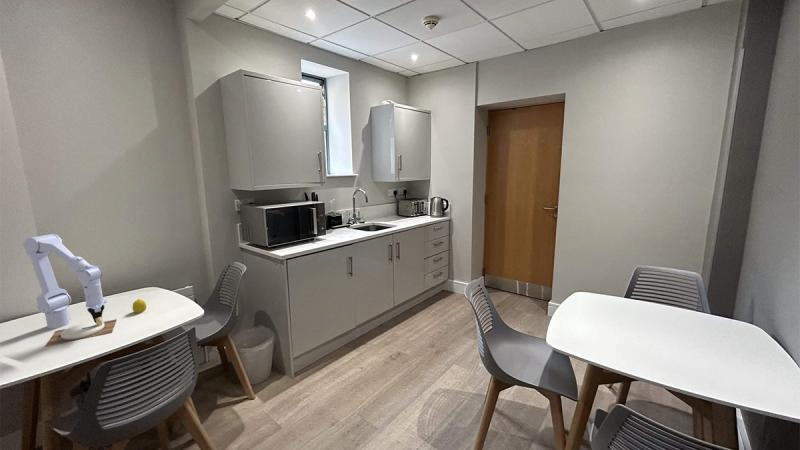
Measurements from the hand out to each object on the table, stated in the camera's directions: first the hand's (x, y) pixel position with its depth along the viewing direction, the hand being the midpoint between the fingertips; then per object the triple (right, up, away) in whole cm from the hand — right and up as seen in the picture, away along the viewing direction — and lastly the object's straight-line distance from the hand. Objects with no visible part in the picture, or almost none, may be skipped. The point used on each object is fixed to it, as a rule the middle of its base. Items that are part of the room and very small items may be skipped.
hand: (98, 321), depth 149 cm
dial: (-3, -3, -4) cm, 6 cm away
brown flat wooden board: (-3, -5, -3) cm, 7 cm away
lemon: (+5, -1, +18) cm, 19 cm away
